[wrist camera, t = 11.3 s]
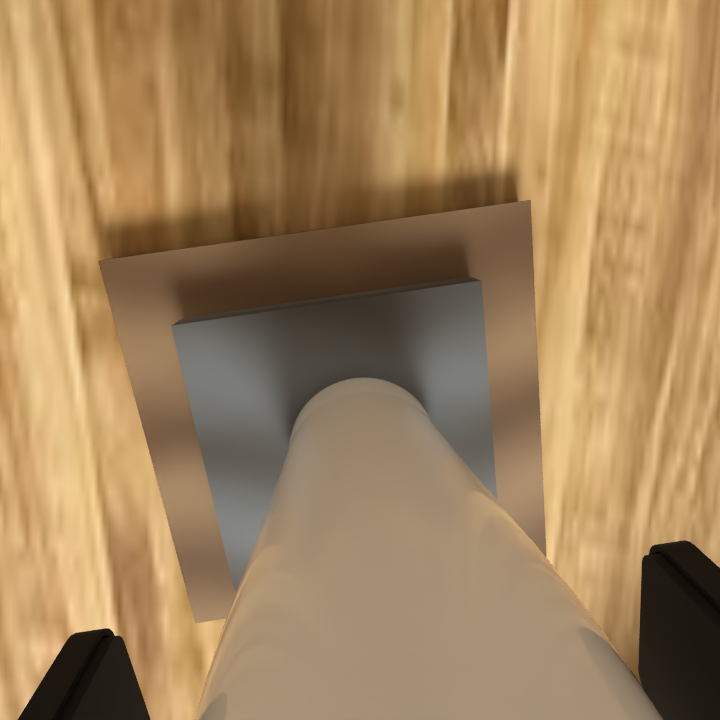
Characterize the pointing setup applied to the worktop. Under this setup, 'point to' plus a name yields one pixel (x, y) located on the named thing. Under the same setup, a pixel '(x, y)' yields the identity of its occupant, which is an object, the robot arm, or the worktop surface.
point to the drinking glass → (403, 589)
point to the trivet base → (315, 275)
